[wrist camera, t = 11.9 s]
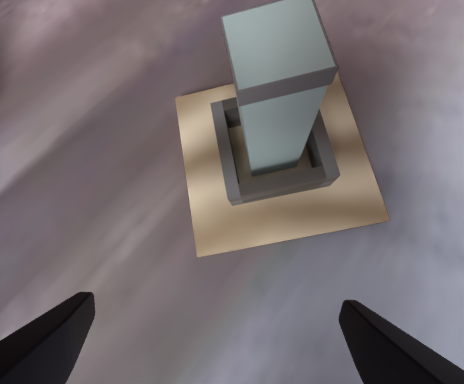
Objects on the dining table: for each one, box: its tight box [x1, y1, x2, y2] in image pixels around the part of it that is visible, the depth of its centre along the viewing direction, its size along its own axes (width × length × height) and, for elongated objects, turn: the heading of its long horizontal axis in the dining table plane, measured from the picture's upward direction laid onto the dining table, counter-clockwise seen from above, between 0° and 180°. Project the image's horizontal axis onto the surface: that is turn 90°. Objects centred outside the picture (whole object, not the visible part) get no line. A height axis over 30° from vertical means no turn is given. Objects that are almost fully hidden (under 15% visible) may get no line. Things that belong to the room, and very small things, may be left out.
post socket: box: [175, 72, 390, 257], centre depth 21 cm, size 16×16×4 cm
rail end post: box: [220, 0, 339, 177], centre depth 16 cm, size 4×4×12 cm
